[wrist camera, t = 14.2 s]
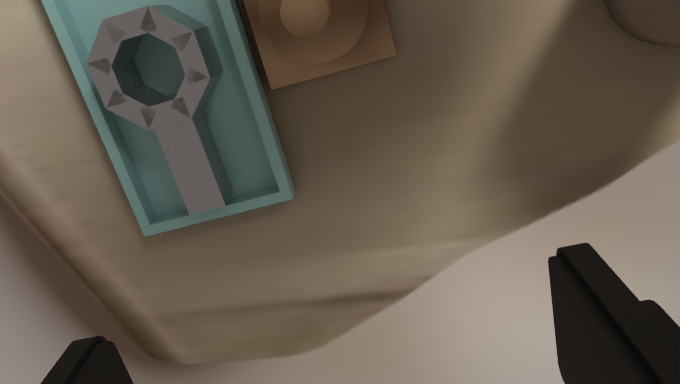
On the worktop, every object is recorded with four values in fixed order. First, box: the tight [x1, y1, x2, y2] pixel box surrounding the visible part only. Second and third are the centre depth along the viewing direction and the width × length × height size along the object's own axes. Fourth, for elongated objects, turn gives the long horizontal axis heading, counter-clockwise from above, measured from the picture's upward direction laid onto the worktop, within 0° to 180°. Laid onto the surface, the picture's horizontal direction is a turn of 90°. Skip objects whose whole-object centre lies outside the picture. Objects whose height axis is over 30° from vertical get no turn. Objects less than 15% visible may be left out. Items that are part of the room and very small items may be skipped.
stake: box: [243, 0, 397, 90], centre depth 28 cm, size 8×8×11 cm
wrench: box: [86, 4, 233, 215], centre depth 33 cm, size 12×6×4 cm, turn 16°
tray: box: [41, 0, 296, 237], centre depth 33 cm, size 18×10×2 cm, turn 15°
